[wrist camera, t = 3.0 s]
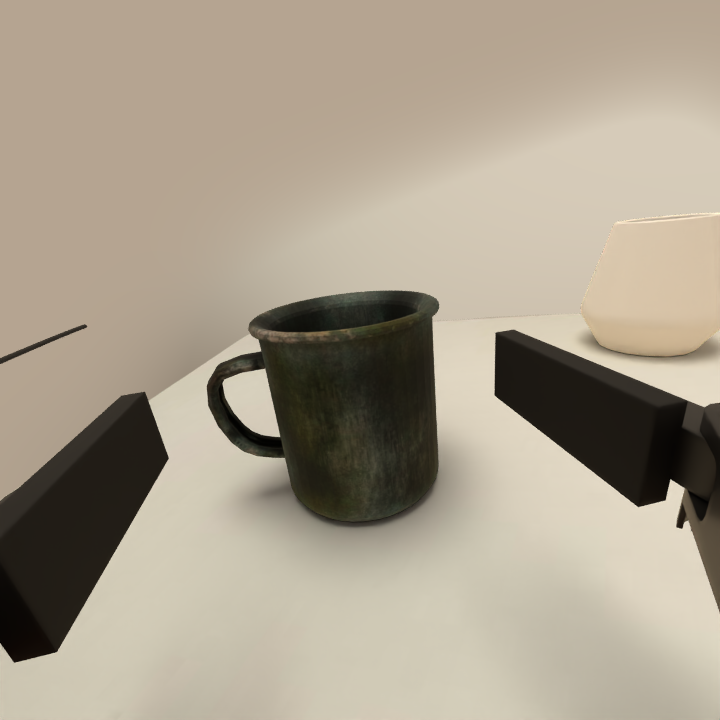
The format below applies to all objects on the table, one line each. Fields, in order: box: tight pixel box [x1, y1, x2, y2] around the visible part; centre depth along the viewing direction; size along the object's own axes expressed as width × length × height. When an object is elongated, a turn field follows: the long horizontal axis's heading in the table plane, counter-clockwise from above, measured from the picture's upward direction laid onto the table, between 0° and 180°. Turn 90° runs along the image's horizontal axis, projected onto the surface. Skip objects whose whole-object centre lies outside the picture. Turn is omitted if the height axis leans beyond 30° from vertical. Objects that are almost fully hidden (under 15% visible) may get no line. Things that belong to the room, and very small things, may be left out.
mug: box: [207, 291, 439, 522], centre depth 23 cm, size 11×15×12 cm
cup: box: [581, 213, 720, 356], centre depth 39 cm, size 13×13×14 cm
